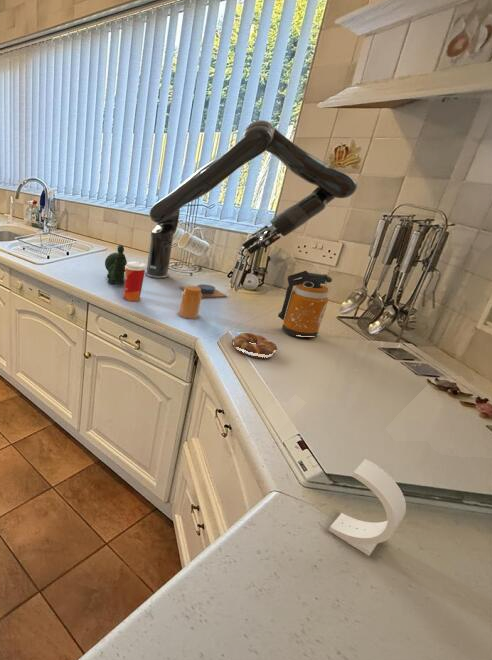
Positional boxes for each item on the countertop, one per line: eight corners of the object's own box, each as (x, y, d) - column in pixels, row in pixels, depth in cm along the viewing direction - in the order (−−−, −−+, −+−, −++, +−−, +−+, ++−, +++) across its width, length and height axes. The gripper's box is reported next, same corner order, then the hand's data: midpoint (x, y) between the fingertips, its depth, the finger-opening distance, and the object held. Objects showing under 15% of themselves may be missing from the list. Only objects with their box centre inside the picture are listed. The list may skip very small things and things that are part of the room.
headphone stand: (340, 516, 64) (365, 458, 59) (389, 545, 59) (420, 485, 54) (328, 530, 61) (353, 471, 57) (378, 562, 57) (410, 501, 52)
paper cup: (127, 293, 158) (131, 260, 153) (145, 298, 153) (150, 263, 148) (117, 298, 153) (121, 264, 148) (135, 304, 148) (140, 268, 143)
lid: (209, 295, 154) (210, 290, 153) (193, 290, 158) (194, 286, 158) (217, 291, 157) (218, 287, 156) (201, 287, 162) (202, 283, 161)
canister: (316, 343, 118) (336, 279, 110) (272, 333, 124) (288, 273, 116) (316, 332, 124) (335, 271, 117) (274, 323, 131) (290, 265, 123)
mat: (180, 288, 163) (181, 286, 163) (208, 286, 164) (208, 285, 164) (197, 298, 152) (197, 297, 152) (226, 297, 153) (226, 295, 153)
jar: (175, 312, 140) (180, 285, 137) (192, 311, 141) (196, 285, 137) (184, 319, 135) (189, 291, 131) (201, 318, 135) (206, 290, 131)
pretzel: (221, 341, 120) (223, 330, 118) (255, 339, 120) (258, 328, 119) (247, 361, 108) (250, 349, 107) (284, 359, 109) (288, 347, 108)
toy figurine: (128, 293, 163) (123, 270, 185) (134, 250, 154) (128, 231, 176) (105, 292, 165) (102, 269, 187) (109, 249, 156) (106, 231, 178)
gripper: (303, 231, 134) (257, 261, 142) (290, 224, 146) (248, 252, 154) (289, 215, 133) (243, 246, 141) (277, 209, 146) (235, 237, 154)
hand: (246, 249), depth 148 cm, fingers open, 8 cm apart
